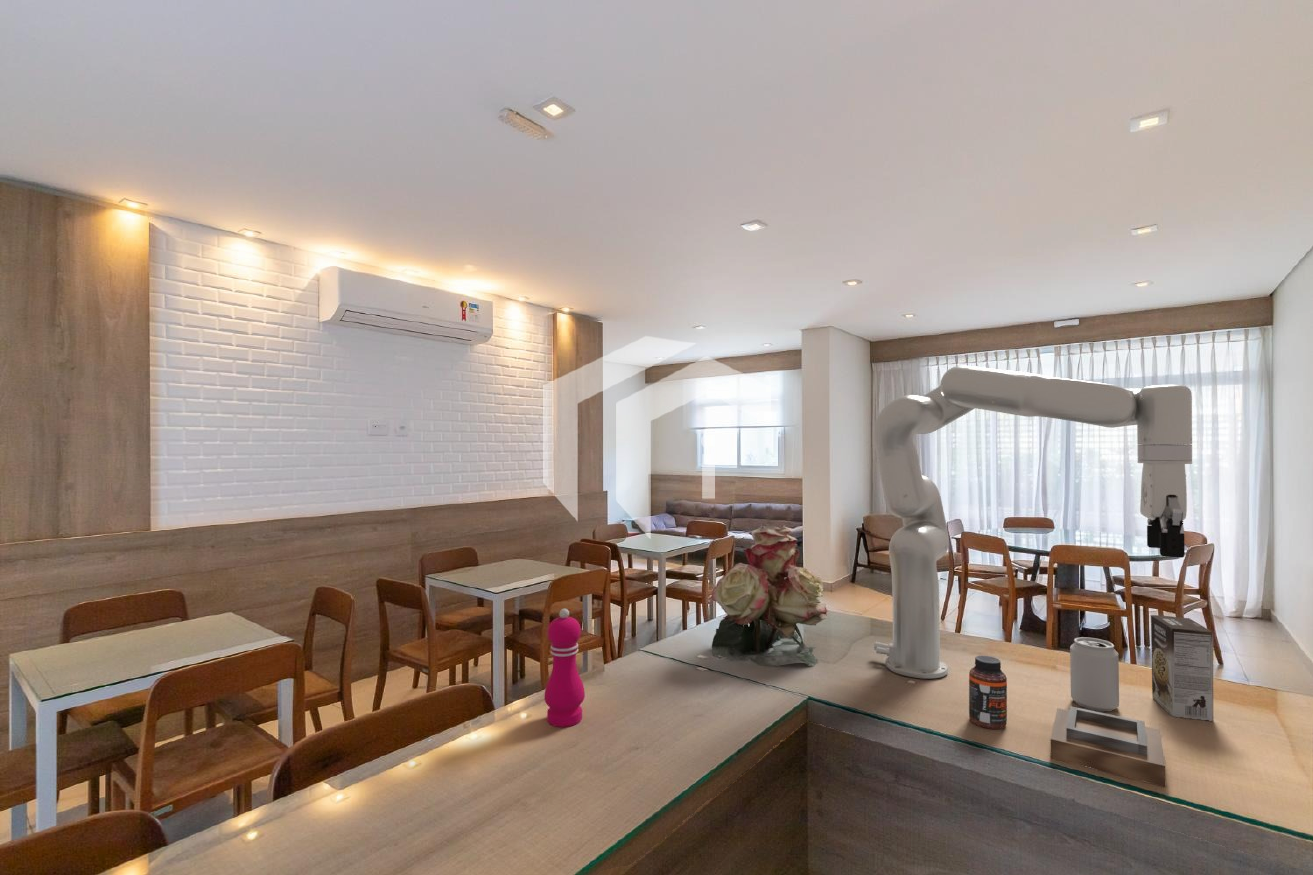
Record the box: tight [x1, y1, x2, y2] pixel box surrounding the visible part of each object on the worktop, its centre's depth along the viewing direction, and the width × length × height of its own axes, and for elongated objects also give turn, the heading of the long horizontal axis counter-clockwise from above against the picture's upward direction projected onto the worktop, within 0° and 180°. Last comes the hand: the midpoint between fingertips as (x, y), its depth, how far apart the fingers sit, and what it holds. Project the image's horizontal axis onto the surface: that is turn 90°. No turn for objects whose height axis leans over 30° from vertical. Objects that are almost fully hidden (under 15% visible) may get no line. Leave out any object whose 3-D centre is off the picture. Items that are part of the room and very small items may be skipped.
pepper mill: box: [544, 608, 586, 728], centre depth 112 cm, size 7×7×20 cm
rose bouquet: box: [711, 524, 828, 667], centre depth 149 cm, size 26×29×30 cm
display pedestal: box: [1050, 706, 1167, 788], centre depth 99 cm, size 14×14×4 cm
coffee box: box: [1150, 614, 1215, 722], centre depth 115 cm, size 9×6×16 cm
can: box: [1069, 636, 1120, 713], centre depth 117 cm, size 8×8×12 cm
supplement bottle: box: [968, 655, 1008, 730], centre depth 110 cm, size 6×6×11 cm
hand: (1164, 551), depth 110 cm, fingers open, 9 cm apart
